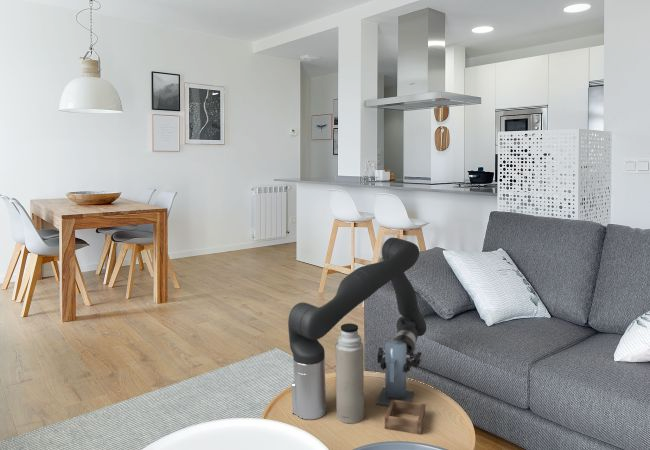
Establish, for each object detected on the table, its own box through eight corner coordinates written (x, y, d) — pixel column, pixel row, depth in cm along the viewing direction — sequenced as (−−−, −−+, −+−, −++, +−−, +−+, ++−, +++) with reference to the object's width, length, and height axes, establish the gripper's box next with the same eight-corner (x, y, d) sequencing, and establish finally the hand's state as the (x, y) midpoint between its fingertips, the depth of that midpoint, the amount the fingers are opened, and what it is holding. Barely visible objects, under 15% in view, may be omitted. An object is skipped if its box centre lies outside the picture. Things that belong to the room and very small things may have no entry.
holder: (384, 428, 146) (384, 417, 145) (391, 409, 155) (391, 399, 154) (420, 434, 142) (420, 422, 142) (425, 415, 152) (425, 404, 151)
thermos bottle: (331, 417, 152) (329, 327, 146) (347, 405, 158) (346, 318, 152) (353, 426, 147) (352, 333, 141) (369, 414, 153) (368, 324, 147)
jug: (381, 401, 156) (381, 352, 153) (387, 386, 165) (387, 339, 161) (402, 404, 154) (402, 354, 151) (407, 389, 163) (408, 341, 159)
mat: (376, 404, 158) (376, 403, 158) (382, 388, 167) (382, 387, 167) (409, 409, 155) (409, 407, 155) (414, 393, 164) (414, 391, 164)
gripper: (382, 332, 173) (370, 353, 158) (425, 336, 169) (418, 359, 153) (382, 353, 175) (371, 376, 159) (425, 358, 171) (418, 382, 155)
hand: (394, 368), depth 156 cm, fingers closed on jug, 6 cm apart
